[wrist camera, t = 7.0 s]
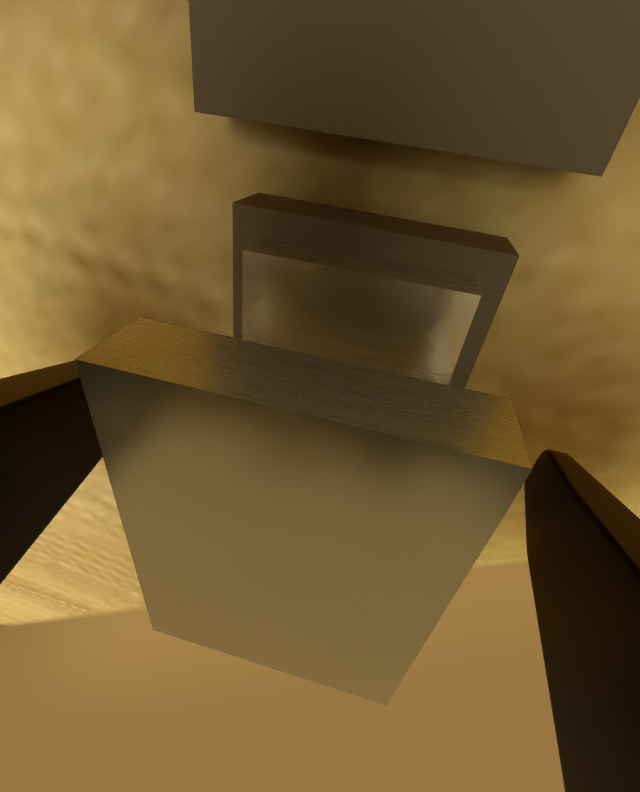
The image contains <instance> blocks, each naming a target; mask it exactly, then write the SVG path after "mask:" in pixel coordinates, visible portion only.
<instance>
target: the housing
mask: <svg viewBox="0 0 640 792" xmlns="http://www.w3.org/2000/svg"><path fill="white" fill-rule="evenodd" d="M480 298H481V293H480V290H479V286H478V283H477V279H476V277H474V276H468V275H463V274H458V273H452V272H447V271H442V270H436V269H431V268H426V267H420V266H415V265H409V264H404V263H399V262H393V261H388V260H383V259H377V258H372V257H367V256H361V255H356V254H351V253H345V252H340V251H335V250H329V249H324V248H318V247H313V246H308V245H302V244H297V243H292V242H286V241H281V240H276V239H270V238H265V237H262V238H260V239H259V240H257V241H255V242H254V243H252V244H251V245H249V246H248V247H246V248H245V249H243V250H242V331H241V332H240V333H239V334H238V335H237V336H236V338H232V337H228V336H223V335H219V334H214V333H210V332H205V331H201V330H196V329H192V328H187V327H183V326H178V325H174V324H169V323H165V322H160V321H156V320H151V319H147V318H142V317H139V318H137V319H136V320H134V321H133V322H131V323H129V324H128V325H126V326H125V327H123V328H122V329H120V330H119V331H117V332H116V333H114V334H113V335H111V336H110V337H108V338H106V339H105V340H103V341H102V342H100V343H99V344H97V345H96V346H94V347H93V348H91V349H90V350H88V351H86V352H85V353H83V354H82V355H80V356H79V357H77V358H76V359H75V362H76V365H77V368H78V372H79V375H80V379H81V382H82V386H83V389H84V393H85V396H86V400H87V403H88V406H89V410H90V413H91V417H92V420H93V424H94V427H95V431H96V434H97V438H98V441H99V444H100V448H101V451H102V455H103V458H104V462H105V465H106V469H107V472H108V476H109V479H110V482H111V486H112V489H113V493H114V496H115V500H116V503H117V507H118V510H119V514H120V517H121V520H122V524H123V527H124V531H125V534H126V538H127V541H128V545H129V548H130V551H131V555H132V558H133V562H134V565H135V569H136V572H137V576H138V579H139V583H140V586H141V589H142V593H143V596H144V600H145V603H146V607H147V610H148V614H149V617H150V620H151V624H152V627H153V630H156V631H159V632H162V633H166V634H168V635H171V636H175V637H178V638H181V639H184V640H187V641H190V642H193V643H196V644H199V645H202V646H206V647H208V648H212V649H215V650H218V651H221V652H224V653H227V654H230V655H233V656H237V657H240V658H242V659H246V660H249V661H252V662H255V663H258V664H261V665H264V666H267V667H270V668H273V669H276V670H280V671H282V672H286V673H289V674H292V675H295V676H298V677H301V678H304V679H307V680H310V681H313V682H317V683H320V684H323V685H326V686H329V687H332V688H335V689H338V690H341V691H344V692H347V693H351V694H353V695H357V696H360V697H363V698H366V699H369V700H372V701H375V702H378V703H381V704H384V705H387V703H388V702H389V700H390V698H391V696H392V695H393V693H394V692H395V690H396V689H397V687H398V685H399V684H400V682H401V681H402V679H403V677H404V676H405V674H406V672H407V671H408V669H409V667H410V666H411V664H412V663H413V661H414V660H415V658H416V656H417V655H418V653H419V652H420V650H421V648H422V647H423V645H424V643H425V642H426V640H427V639H428V637H429V635H430V634H431V632H432V631H433V629H434V627H435V626H436V624H437V622H438V621H439V619H440V618H441V616H442V614H443V613H444V611H445V610H446V608H447V606H448V605H449V603H450V602H451V600H452V598H453V597H454V595H455V593H456V591H457V590H458V589H459V587H460V585H461V584H462V582H463V580H464V579H465V577H466V576H467V574H468V572H469V571H470V569H471V568H472V566H473V564H474V563H475V561H476V560H477V558H478V556H479V555H480V553H481V552H482V550H483V548H484V547H485V545H486V543H487V542H488V540H489V539H490V537H491V535H492V534H493V532H494V531H495V529H496V527H497V526H498V524H499V522H500V521H501V519H502V518H503V516H504V514H505V513H506V511H507V510H508V508H509V506H510V505H511V503H512V502H513V500H514V498H515V497H516V495H517V493H518V492H519V490H520V489H521V487H522V485H523V484H524V482H525V481H526V479H527V477H528V476H529V474H530V472H531V471H532V466H531V462H530V459H529V455H528V452H527V449H526V445H525V442H524V438H523V435H522V432H521V428H520V425H519V422H518V418H517V415H516V411H515V408H514V405H513V401H512V399H508V398H504V397H499V396H495V395H490V394H486V393H481V392H477V391H472V390H468V389H463V388H459V387H454V386H452V373H453V371H454V368H455V365H456V363H457V360H458V357H459V355H460V352H461V349H462V346H463V344H464V341H465V338H466V336H467V333H468V330H469V328H470V325H471V322H472V320H473V317H474V314H475V312H476V309H477V306H478V304H479V301H480Z"/></svg>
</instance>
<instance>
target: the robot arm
mask: <svg viewBox="0 0 640 792" xmlns="http://www.w3.org/2000/svg"><path fill="white" fill-rule="evenodd" d="M102 457H103V455H102V451H101V448H100V444H99V441H98V438H97V434H96V431H95V427H94V424H93V420H92V417H91V413H90V410H89V406H88V403H87V400H86V396H85V393H84V389H83V386H82V382H81V379H80V375H79V372H78V368H77V365H76V362H75V361H71V362H67V363H63V364H59V365H54V366H50V367H46V368H42V369H38V370H34V371H30V372H26V373H22V374H18V375H14V376H10V377H6V378H2V379H0V584H1V583H2V581H3V580H4V579H5V578H6V576H7V575H8V574H9V573H10V572H11V570H12V569H13V568H14V567H15V565H16V564H17V563H18V562H19V560H20V559H21V558H22V557H23V555H24V554H25V553H26V552H27V550H28V549H29V548H30V547H31V545H32V544H33V543H34V542H35V540H36V539H37V538H38V537H39V535H40V534H41V533H42V532H43V530H44V529H45V528H46V527H47V525H48V524H49V523H50V522H51V520H52V519H53V518H54V517H55V515H56V514H57V513H58V512H59V510H60V509H61V508H62V507H63V506H64V504H65V503H66V502H67V501H68V499H69V498H70V497H71V496H72V494H73V493H74V492H75V491H76V489H77V488H78V487H79V486H80V484H81V483H82V482H83V481H84V479H85V478H86V477H87V476H88V474H89V473H90V472H91V471H92V469H93V468H94V467H95V466H96V464H97V463H98V462H99V461H100V459H101V458H102ZM524 488H525V517H526V543H527V555H528V563H529V568H530V575H531V582H532V588H533V594H534V600H535V607H536V612H537V619H538V625H539V632H540V637H541V644H542V650H543V657H544V662H545V669H546V675H547V681H548V687H549V694H550V700H551V706H552V713H553V719H554V725H555V731H556V738H557V744H558V750H559V756H560V763H561V769H562V774H563V781H564V788H565V792H640V519H639V518H638V517H637V516H636V515H635V514H634V513H633V512H631V511H630V510H629V509H628V508H627V507H626V506H625V505H624V504H623V503H621V502H620V501H619V500H618V499H617V498H616V497H615V496H614V495H613V494H612V493H610V492H609V491H608V490H607V489H606V488H605V487H604V486H603V485H602V484H600V483H599V482H598V481H597V480H596V479H595V478H594V477H593V476H592V475H590V474H589V473H588V472H587V471H586V470H585V469H584V468H583V467H582V466H580V465H579V464H578V463H577V462H576V461H575V460H574V459H573V458H572V457H571V456H569V455H568V454H566V453H562V452H558V451H554V450H549V449H548V450H544V451H543V452H542V453H541V454H540V456H539V458H538V459H537V461H536V462H535V464H534V465H533V467H532V471H531V472H530V474H529V476H528V477H527V479H526V481H525V487H524Z"/></svg>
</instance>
